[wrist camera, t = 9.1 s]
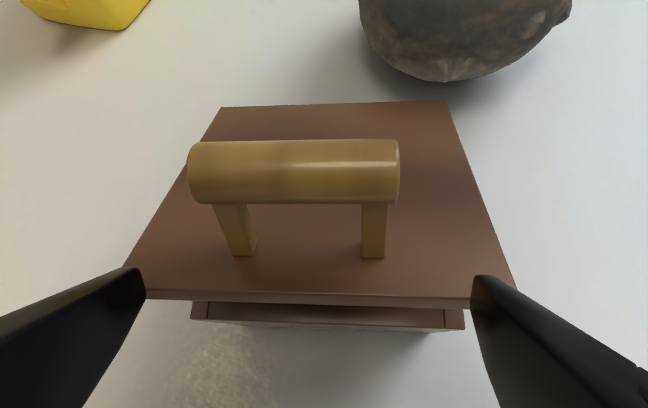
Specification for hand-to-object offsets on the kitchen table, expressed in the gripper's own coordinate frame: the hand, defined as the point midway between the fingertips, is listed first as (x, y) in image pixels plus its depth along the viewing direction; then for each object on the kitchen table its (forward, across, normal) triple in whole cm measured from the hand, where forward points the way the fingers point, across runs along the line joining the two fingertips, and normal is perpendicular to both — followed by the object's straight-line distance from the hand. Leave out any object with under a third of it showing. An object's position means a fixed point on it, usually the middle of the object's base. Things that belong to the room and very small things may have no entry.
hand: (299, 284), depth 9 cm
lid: (+6, 0, -1) cm, 6 cm away
